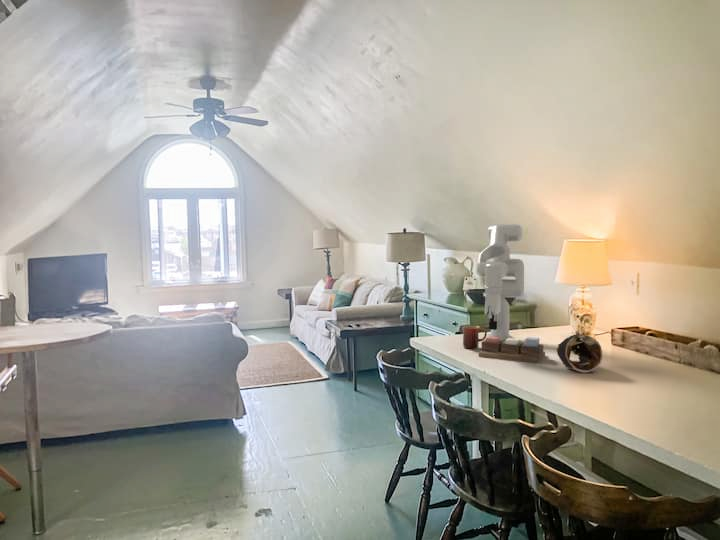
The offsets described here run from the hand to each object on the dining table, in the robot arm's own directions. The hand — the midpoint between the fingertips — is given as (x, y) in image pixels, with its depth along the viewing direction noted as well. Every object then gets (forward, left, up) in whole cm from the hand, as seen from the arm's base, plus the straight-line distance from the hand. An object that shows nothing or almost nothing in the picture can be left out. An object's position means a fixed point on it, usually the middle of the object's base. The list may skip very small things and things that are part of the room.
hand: (493, 329), depth 256 cm
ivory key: (+1, +9, -8) cm, 12 cm away
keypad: (+1, +9, -12) cm, 15 cm away
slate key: (+1, +18, -6) cm, 19 cm away
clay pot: (+6, +37, -12) cm, 39 cm away
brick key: (+1, 0, -8) cm, 8 cm away
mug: (-8, -12, -12) cm, 19 cm away
